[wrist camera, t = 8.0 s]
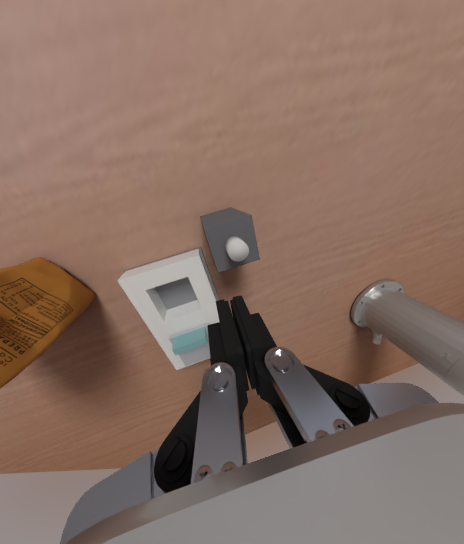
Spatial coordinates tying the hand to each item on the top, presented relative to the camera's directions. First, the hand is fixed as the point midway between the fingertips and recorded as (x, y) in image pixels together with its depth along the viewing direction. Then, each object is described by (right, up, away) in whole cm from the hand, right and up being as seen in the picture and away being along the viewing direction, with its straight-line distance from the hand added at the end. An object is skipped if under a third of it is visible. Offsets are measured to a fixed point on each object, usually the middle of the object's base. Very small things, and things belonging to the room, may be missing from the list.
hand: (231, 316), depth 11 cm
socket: (-8, -3, +19) cm, 21 cm away
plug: (-2, +10, +14) cm, 17 cm away
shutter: (-6, -9, +18) cm, 21 cm away
